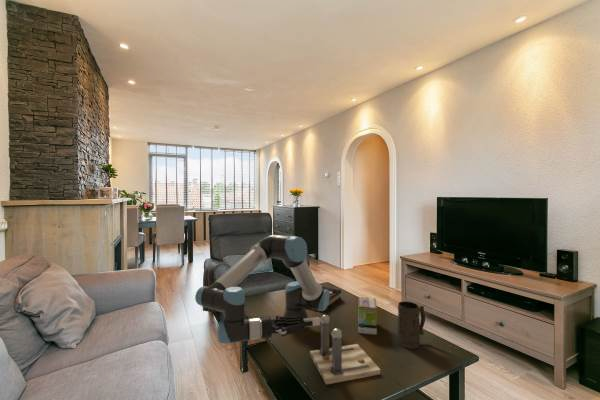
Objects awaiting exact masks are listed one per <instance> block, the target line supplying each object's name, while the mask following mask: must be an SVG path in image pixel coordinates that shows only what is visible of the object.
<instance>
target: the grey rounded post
mask: <svg viewBox="0 0 600 400" xmlns="http://www.w3.org/2000/svg"><path fill="white" fill-rule="evenodd" d="M330 335H331V348H332V367H330V369H331V371H332V372H333V374H334V375H337V374H342V373H343V370H342V346H343V345H342V344H343V343H342V341H343V340H342V337H343V332H342V330H341V329H340V328H337V327H336V328H333V329H332V330H331V334H330Z"/></svg>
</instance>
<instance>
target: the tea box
mask: <svg viewBox="0 0 600 400" xmlns="http://www.w3.org/2000/svg"><path fill="white" fill-rule="evenodd" d="M357 304H358V309H357V314H358V315H357V319H358V320H357V327H358V329H357V331H358V334H365V335H366V334H367V335H378V305H377V298H375V297H374V298H373V297H360V296H359V297H358V303H357Z"/></svg>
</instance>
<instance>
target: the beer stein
mask: <svg viewBox="0 0 600 400" xmlns="http://www.w3.org/2000/svg"><path fill="white" fill-rule="evenodd" d="M397 313H398V314H397V330H396V331H397V340H396V342H397V344H398V345H399V346H401V347H402V348H406V349H410V350H415V349H418V348H420V347H421V342H420V339H421V336H424V334H425V333H424V325H425V324H426V313H425V306H424V305H418V303H415V302H413V301H412V302H411V301H400V302H398V304H397Z"/></svg>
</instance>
